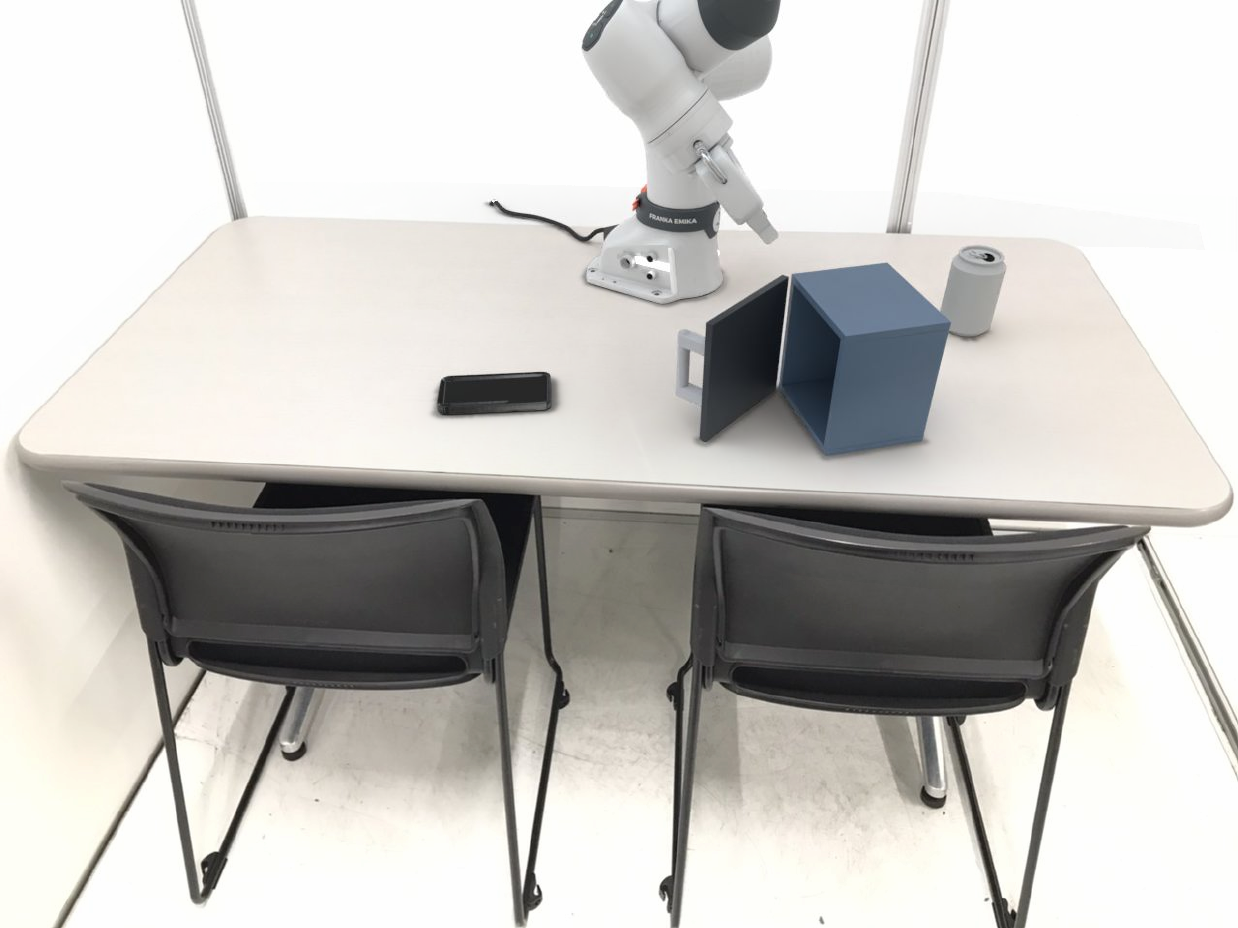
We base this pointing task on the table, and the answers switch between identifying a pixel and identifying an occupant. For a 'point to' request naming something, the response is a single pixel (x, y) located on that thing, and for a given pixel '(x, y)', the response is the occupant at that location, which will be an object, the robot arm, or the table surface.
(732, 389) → the cabinet door
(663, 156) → the robot arm
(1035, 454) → the table surface
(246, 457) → the table surface
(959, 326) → the can
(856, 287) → the blue cabinet body
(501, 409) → the phone
